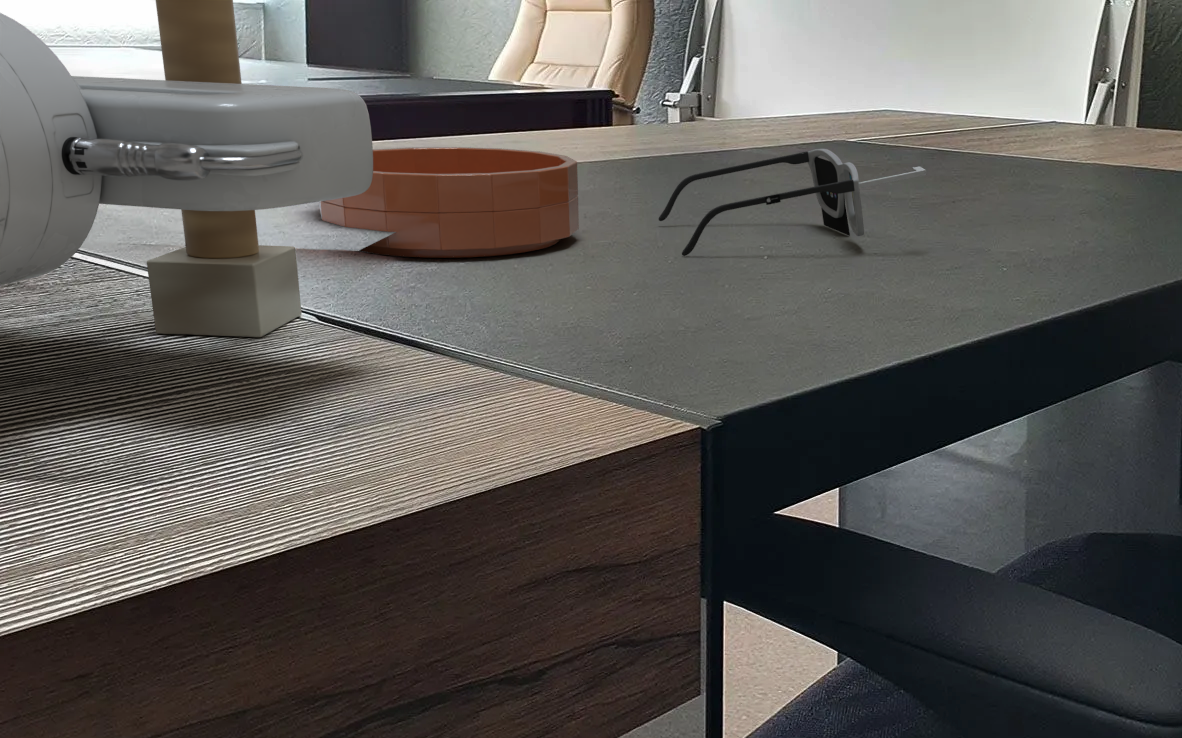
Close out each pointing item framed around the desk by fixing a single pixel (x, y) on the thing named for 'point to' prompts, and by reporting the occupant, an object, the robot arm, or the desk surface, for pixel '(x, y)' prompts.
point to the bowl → (463, 202)
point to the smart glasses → (804, 191)
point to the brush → (216, 238)
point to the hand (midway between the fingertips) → (221, 119)
